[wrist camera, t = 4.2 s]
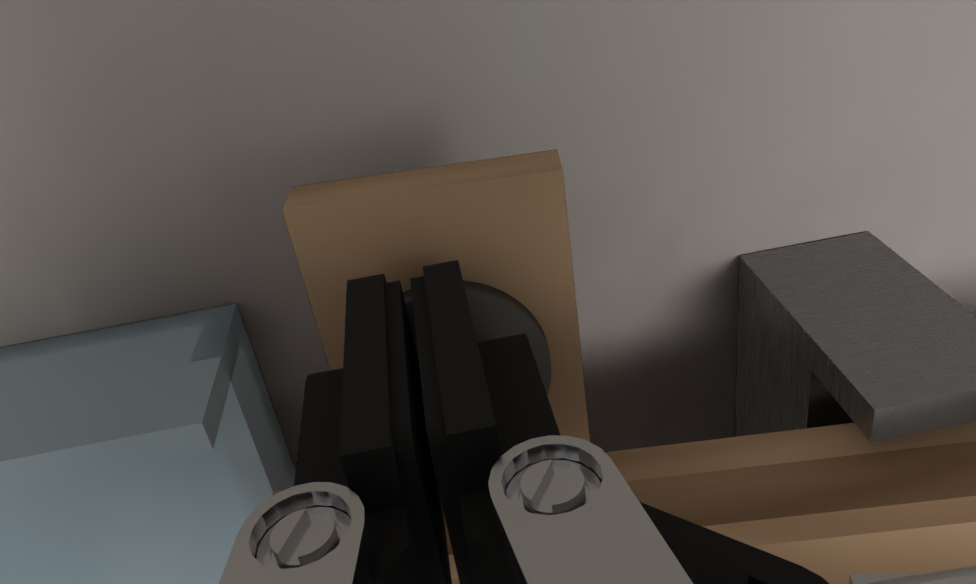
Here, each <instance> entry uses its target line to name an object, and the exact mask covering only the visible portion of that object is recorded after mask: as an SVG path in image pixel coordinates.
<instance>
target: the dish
mask: <svg viewBox="0 0 976 584" xmlns="http://www.w3.org/2000/svg"><path fill="white" fill-rule="evenodd" d="M295 473H296V470H295V467H294V465H293V462H292V459H291V456H290V453H289V451H288V448H287V445H286V442H285V439H284V436H283V434H282V431H281V428H280V425H279V422H278V420H277V417H276V414H275V411H274V408H273V405H272V403H271V400H270V397H269V394H268V391H267V389H266V386H265V383H264V380H263V377H262V374H261V372H260V369H259V366H258V363H257V360H256V358H255V355H254V352H253V349H252V346H251V343H250V341H249V338H248V335H247V332H246V329H245V327H244V324H243V321H242V318H241V315H240V312H239V310H238V307H237V304H232V305H226V306H221V307H216V308H210V309H205V310H199V311H194V312H189V313H183V314H178V315H173V316H167V317H162V318H157V319H151V320H146V321H141V322H135V323H130V324H125V325H119V326H114V327H108V328H103V329H98V330H92V331H87V332H82V333H76V334H71V335H66V336H60V337H55V338H50V339H44V340H39V341H34V342H28V343H23V344H18V345H12V346H7V347H1V348H0V584H219V582H220V579H221V577H222V574H223V571H224V569H225V566H226V563H227V561H228V558H229V555H230V553H231V550H232V547H233V545H234V542H235V539H236V537H237V534H238V532H239V530H240V529H241V527H242V525H243V523H244V521H245V520H246V518H247V517H248V516H249V515H250V514H251V513H252V512H253V511H254V510H255V509H256V508H257V507H258V506H259V505H260V504H261V503H263V502H264V501H266V500H267V499H269V498H270V497H272V495H273V491H281V490H286V489H288V488H291V487H293V486H294V482H295Z"/></svg>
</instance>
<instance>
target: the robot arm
mask: <svg viewBox="0 0 976 584" xmlns="http://www.w3.org/2000/svg"><path fill="white" fill-rule="evenodd" d="M423 274H424V276H421V277H415V278H410V283H411V292H412V302H413V311H414V320H415V330H416V339H417V348H418V358H419V363H418V359H417V354H416V350H415V345H414V340H413V336H412V331H411V327H410V322H409V318H408V313H407V309H406V304H405V300H404V295H403V291H402V286H401V283H400V280H399V281H393V282H388V283H387V281H386V278H385V275H384V274H379V275H374V276H368V277H363V278H357V279H352V280H347V290H346V314H345V337H344V360H343V368H340V369H335V370H329V371H324V372H319V373H314V374H309V375H308V376H307V379H306V384H305V393H304V402H303V411H302V420H301V429H300V438H299V446H298V455H297V464H296V473H295V482H294V486H293V487H291V488H288V489H286V490H284V491H281V492H279V493H276V494H275V495H273V496H272V497H270V498H269V499H267V500H266V501H264V502H263V503H261V504H260V505H259V506H258V507H257V508H256V509H255V510H254V511H253V512H252V513H251V514H250V515H249V516H248V517H247V518H246V520H245V521H244V523H243V525H242V527H241V529H240V530H239V532H238V534H237V537H236V539H235V542H234V545H233V547H232V550H231V553H230V555H229V558H228V561H227V563H226V566H225V569H224V571H223V574H222V577H221V579H220V582H219V584H452V579H451V571H450V562H449V554H448V545H447V537H446V529H445V520H446V525H447V529H448V533H449V538H450V542H451V547H452V551H453V555H454V560H455V564H456V569H457V573H458V577H459V582H460V584H829V583H828V582H827V581H826V580H825V579H824V578H823V577H821V576H819V575H817V574H816V573H814V572H812V571H810V570H808V569H806V568H804V567H802V566H800V565H798V564H795V563H793V562H790V561H788V560H785V559H783V558H780V557H778V556H775V555H773V554H770V553H768V552H765V551H763V550H760V549H758V548H755V547H753V546H750V545H748V544H745V543H743V542H740V541H737V540H735V539H732V538H730V537H727V536H725V535H722V534H720V533H717V532H715V531H712V530H710V529H707V528H705V527H702V526H700V525H697V524H695V523H692V522H690V521H687V520H685V519H682V518H680V517H677V516H675V515H672V514H669V513H667V512H664V511H662V510H659V509H657V508H654V507H652V506H649V505H647V504H644V503H642V502H639V501H638V499H637V498H636V496H635V495H634V493H633V491H632V490H631V488H630V487H629V485H628V484H627V482H626V481H625V479H624V478H623V476H622V475H621V473H620V472H619V470H618V469H617V467H616V466H615V464H614V463H613V461H612V460H611V458H610V457H609V456H608V455H607V454H606V453H605V452H604V451H603V450H602V449H601V448H600V447H598V446H596V445H594V444H592V443H590V442H589V441H587V440H584V439H580V438H576V437H571V436H561V435H560V432H559V429H558V426H557V423H556V420H555V417H554V415H553V412H552V409H551V406H550V403H549V400H548V397H547V394H546V391H545V388H544V385H543V382H542V379H541V376H540V373H539V370H538V367H537V364H536V361H535V358H534V355H533V352H532V349H531V346H530V343H529V340H528V338H527V335H526V334H525V333H523V334H518V335H512V336H507V337H502V338H497V339H492V340H486V341H481V342H477V339H476V335H475V331H474V326H473V322H472V318H471V313H470V309H469V305H468V300H467V296H466V292H465V287H464V283H463V279H462V274H461V270H460V266H459V261H458V260H454V261H449V262H444V263H438V264H433V265H428V266H423ZM419 367H420V368H419ZM443 511H444V512H443ZM444 516H445V520H444ZM849 584H976V565H973V566H967V567H961V568H955V569H949V570H943V571H937V572H931V573H890V574H850V577H849Z"/></svg>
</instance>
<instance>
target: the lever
mask: <svg viewBox="0 0 976 584" xmlns="http://www.w3.org/2000/svg"><path fill="white" fill-rule="evenodd" d="M282 211H283V214H284V218H285V221H286V224H287V228H288V231H289V234H290V238H291V241H292V244H293V248H294V251H295V254H296V258H297V261H298V264H299V268H300V271H301V274H302V278H303V281H304V284H305V288H306V291H307V294H308V298H309V301H310V304H311V308H312V311H313V314H314V318H315V321H316V324H317V328H318V331H319V334H320V338H321V341H322V344H323V348H324V351H325V354H326V358H327V361H328V364H329V368H330V370H335V369H340V368H343V360H344V337H345V314H346V290H347V280H352V279H357V278H363V277H368V276H374V275H379V274H384V275H385V278H386V281H387V283H388V282H393V281H399V280H400V283H401V286H402V291H403V295H404V300H405V304H406V309H407V313H408V318H409V322H410V327H411V331H412V336H413V340H414V345H415V350H416V354H417V359H418V363H419V358H418V348H417V339H416V330H415V320H414V311H413V302H412V292H411V283H410V278H415V277H421V276H424V274H423V266H428V265H433V264H438V263H444V262H449V261H454V260H458V261H459V266H460V270H461V274H462V279H463V283H464V287H465V292H466V296H467V300H468V305H469V309H470V313H471V318H472V322H473V326H474V331H475V335H476V339H477V342H481V341H486V340H492V339H497V338H502V337H507V336H512V335H518V334H523V333H525V334H526V335H527V338H528V340H529V343H530V346H531V349H532V352H533V355H534V358H535V361H536V364H537V367H538V370H539V373H540V376H541V379H542V382H543V385H544V388H545V391H546V394H547V397H548V400H549V403H550V406H551V409H552V412H553V415H554V417H555V420H556V423H557V426H558V429H559V432H560V435H561V436H571V437H576V438H580V439H584V440H587V441H589V442H590V436H589V427H588V417H587V407H586V397H585V387H584V377H583V368H582V358H581V348H580V338H579V328H578V318H577V309H576V299H575V289H574V279H573V269H572V259H571V250H570V240H569V230H568V220H567V210H566V200H565V191H564V181H563V171H562V166H561V162H560V158H559V154H558V151H557V149H556V150H549V151H542V152H535V153H528V154H521V155H514V156H506V157H499V158H492V159H485V160H478V161H471V162H464V163H457V164H450V165H442V166H435V167H428V168H421V169H414V170H407V171H400V172H393V173H386V174H378V175H371V176H364V177H357V178H350V179H343V180H336V181H329V182H322V183H314V184H307V185H300V186H293V187H292V189H291V191H290V193H289V195H288V197H287V199H286V201H285V203H284V205H283V207H282ZM419 368H420V367H419ZM605 453H606V454H607V455H608V456H609V457H610V458H611V460H612V461H613V463H614V464H615V466H616V467H617V469H618V470H619V472H620V473H621V475H622V476H623V478H624V479H625V481H626V482H627V484H628V485H629V487H630V488H631V490H632V491H633V493H634V495H635V496H636V498H637V499H638V501H639V502H642V503H644V504H647V505H649V506H652V507H654V508H657V509H659V510H662V511H664V512H667V513H669V514H672V515H675V516H677V517H680V518H682V519H685V520H687V521H690V522H692V523H695V524H697V525H700V526H702V527H705V528H707V529H710V530H712V531H715V532H717V533H720V534H722V535H725V536H727V537H730V538H732V539H735V540H737V541H740V542H743V543H745V544H748V545H750V546H753V547H755V548H758V549H760V550H763V551H765V552H768V553H770V554H773V555H775V556H778V557H780V558H783V559H785V560H788V561H790V562H793V563H795V564H798V565H800V566H802V567H804V568H806V569H808V570H810V571H812V572H814V573H816V574H817V575H819V576H821V577H823V578H824V579H825V580H826V581H827V582H828V583H829V584H849V577H850V574H890V573H931V572H937V571H943V570H949V569H955V568H961V567H967V566H973V565H976V421H975V422H970V423H965V424H960V425H955V426H950V427H945V428H940V429H935V430H930V431H925V432H920V433H915V434H910V435H905V436H900V437H895V438H890V439H885V440H880V441H875V442H870V441H869V440H868V439H867V437H866V436H865V435H864V434H863V432H862V431H861V430H860V429H859V428H858V426H857V425H856V424H855V423H848V424H840V425H831V426H823V427H814V428H806V429H797V430H789V431H781V432H772V433H764V434H755V435H747V436H738V437H730V438H721V439H713V440H704V441H696V442H687V443H679V444H670V445H662V446H653V447H645V448H636V449H628V450H620V451H611V452H605ZM281 491H284V490H281ZM281 491H273V495H275V494H276V493H279V492H281ZM273 495H272V496H273ZM443 512H444V511H443ZM444 520H445V516H444ZM445 529H446V537H447V545H448V554H449V562H450V571H451V579H452V584H460V582H459V577H458V573H457V569H456V564H455V560H454V555H453V551H452V547H451V542H450V538H449V533H448V529H447V525H446V520H445Z"/></svg>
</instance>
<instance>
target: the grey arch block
mask: <svg viewBox="0 0 976 584" xmlns="http://www.w3.org/2000/svg"><path fill="white" fill-rule="evenodd" d="M975 421H976V316H974V315H973V314H972V313H971V312H969V311H968V310H967V309H966V308H964V307H963V306H962V305H961V304H959V303H958V302H957V301H956V300H954V299H953V298H952V297H951V296H949V295H948V294H947V293H946V292H944V291H943V290H942V289H940V288H939V287H938V286H937V285H935V284H934V283H933V282H932V281H930V280H929V279H928V278H927V277H925V276H924V275H923V274H922V273H920V272H919V271H918V270H917V269H915V268H914V267H913V266H912V265H910V264H909V263H908V262H906V261H905V260H904V259H903V258H901V257H900V256H899V255H898V254H896V253H895V252H894V251H893V250H891V249H890V248H889V247H888V246H886V245H885V244H884V243H883V242H881V241H880V240H879V239H878V238H876V237H875V236H874V235H872V234H871V233H870V232H869V231H868V232H863V233H857V234H852V235H847V236H841V237H836V238H831V239H825V240H820V241H815V242H810V243H804V244H799V245H794V246H788V247H783V248H778V249H773V250H767V251H762V252H757V253H751V254H746V255H741V256H739V307H738V358H737V409H736V437H738V436H747V435H755V434H764V433H772V432H781V431H789V430H797V429H806V428H814V427H823V426H831V425H840V424H848V423H855V424H856V425H857V426H858V428H859V429H860V430H861V431H862V432H863V434H864V435H865V436H866V437H867V439H868V440H869V441H870V442H875V441H880V440H885V439H890V438H895V437H900V436H905V435H910V434H915V433H920V432H925V431H930V430H935V429H940V428H945V427H950V426H955V425H960V424H965V423H970V422H975Z"/></svg>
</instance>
